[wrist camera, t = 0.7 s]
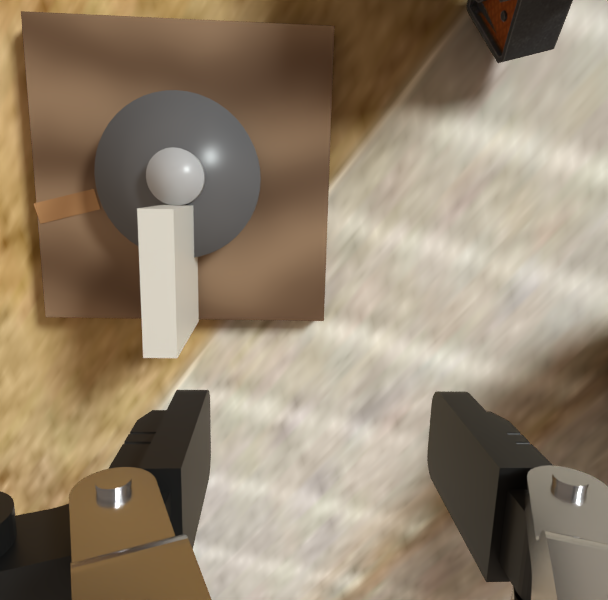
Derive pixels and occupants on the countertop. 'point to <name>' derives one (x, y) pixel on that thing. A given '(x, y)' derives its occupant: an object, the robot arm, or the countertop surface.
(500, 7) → the tool
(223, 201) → the dial
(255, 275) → the dial plate
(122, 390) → the countertop surface
